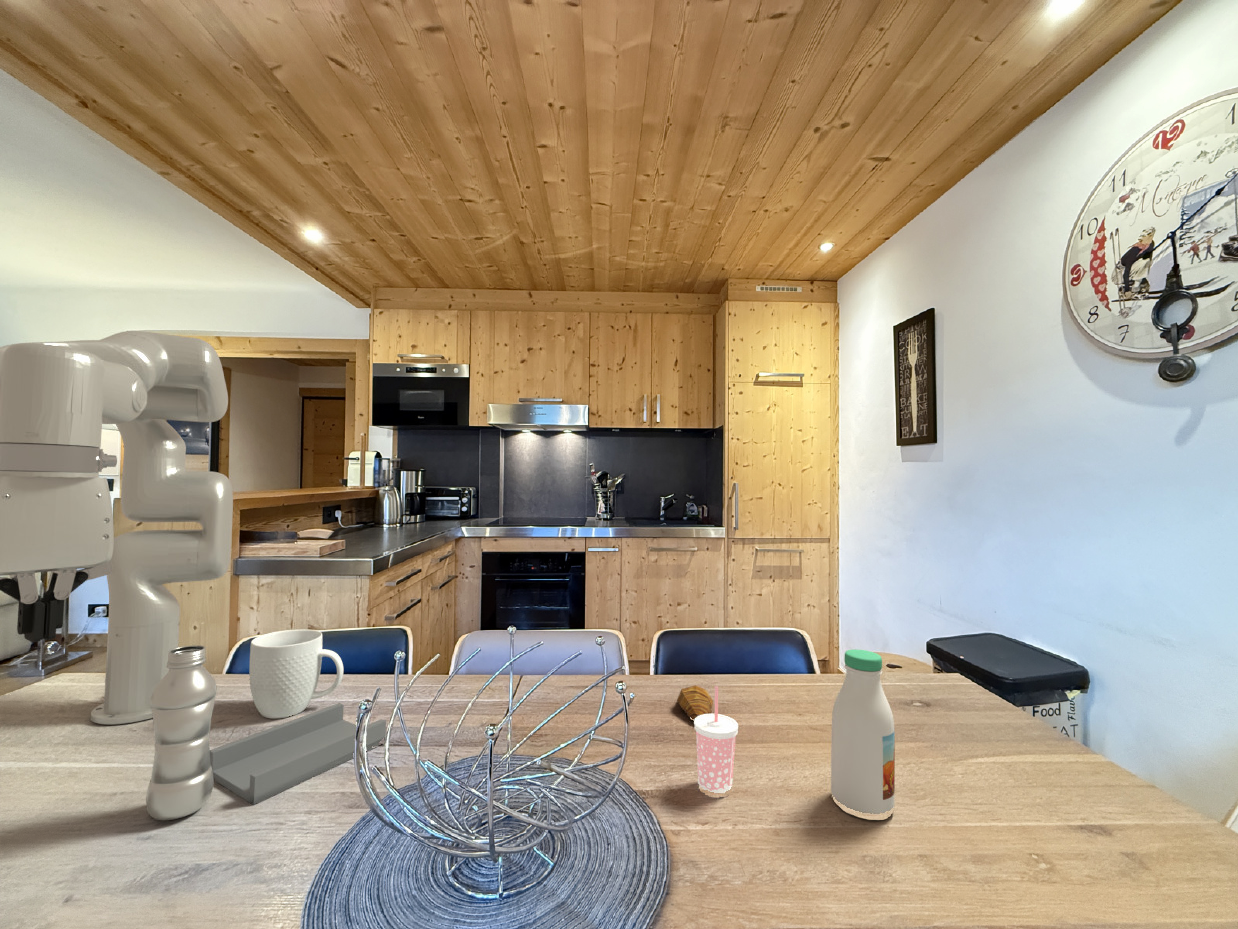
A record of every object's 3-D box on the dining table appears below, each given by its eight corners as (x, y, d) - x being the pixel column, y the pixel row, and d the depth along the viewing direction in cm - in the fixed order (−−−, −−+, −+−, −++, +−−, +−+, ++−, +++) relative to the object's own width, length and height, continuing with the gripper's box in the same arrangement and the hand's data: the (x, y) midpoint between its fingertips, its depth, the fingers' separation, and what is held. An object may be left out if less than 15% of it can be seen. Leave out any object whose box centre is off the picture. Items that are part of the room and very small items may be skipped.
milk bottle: (867, 830, 66) (869, 666, 66) (818, 796, 72) (819, 648, 73) (907, 813, 69) (908, 658, 70) (856, 783, 76) (857, 642, 77)
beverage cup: (709, 771, 78) (711, 675, 79) (746, 789, 74) (747, 687, 74) (683, 787, 74) (685, 685, 74) (720, 807, 69) (722, 699, 70)
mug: (349, 695, 102) (352, 627, 103) (332, 721, 91) (335, 644, 92) (263, 700, 99) (266, 630, 99) (234, 727, 88) (237, 648, 89)
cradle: (207, 776, 74) (209, 750, 74) (338, 723, 90) (339, 703, 90) (253, 805, 68) (255, 777, 68) (385, 743, 84) (386, 721, 84)
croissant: (671, 697, 106) (672, 672, 106) (705, 697, 106) (706, 672, 106) (682, 729, 92) (682, 700, 92) (720, 729, 92) (721, 700, 92)
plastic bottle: (175, 832, 62) (183, 660, 63) (129, 824, 64) (138, 655, 64) (226, 800, 69) (233, 644, 69) (183, 793, 70) (190, 640, 71)
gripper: (127, 466, 65) (119, 618, 64) (-73, 460, 52) (-86, 651, 51) (154, 466, 61) (145, 628, 60) (-55, 459, 48) (-69, 666, 47)
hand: (39, 638), depth 55 cm, fingers closed
